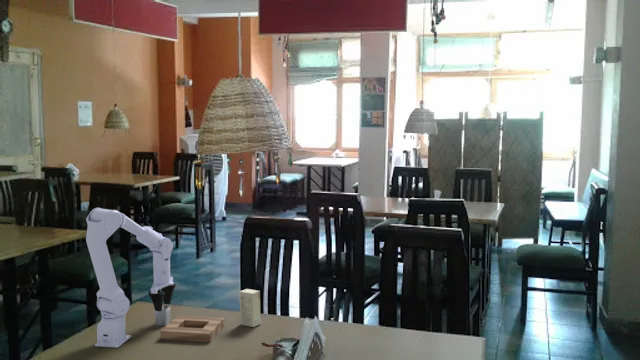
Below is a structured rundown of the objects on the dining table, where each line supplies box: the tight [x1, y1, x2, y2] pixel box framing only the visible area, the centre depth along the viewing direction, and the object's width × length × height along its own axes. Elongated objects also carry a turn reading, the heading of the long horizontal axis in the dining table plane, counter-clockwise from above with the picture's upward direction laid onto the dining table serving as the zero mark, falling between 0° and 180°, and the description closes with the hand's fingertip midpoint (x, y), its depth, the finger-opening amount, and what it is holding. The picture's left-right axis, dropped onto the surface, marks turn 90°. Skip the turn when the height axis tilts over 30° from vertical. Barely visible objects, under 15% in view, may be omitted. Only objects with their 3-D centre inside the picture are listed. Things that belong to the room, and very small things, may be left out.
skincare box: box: [239, 288, 262, 328], centre depth 202 cm, size 6×4×12 cm
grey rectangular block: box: [154, 305, 172, 327], centre depth 202 cm, size 4×4×6 cm
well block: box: [160, 315, 225, 343], centre depth 194 cm, size 15×17×3 cm
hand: (162, 307), depth 202 cm, fingers open, 7 cm apart
